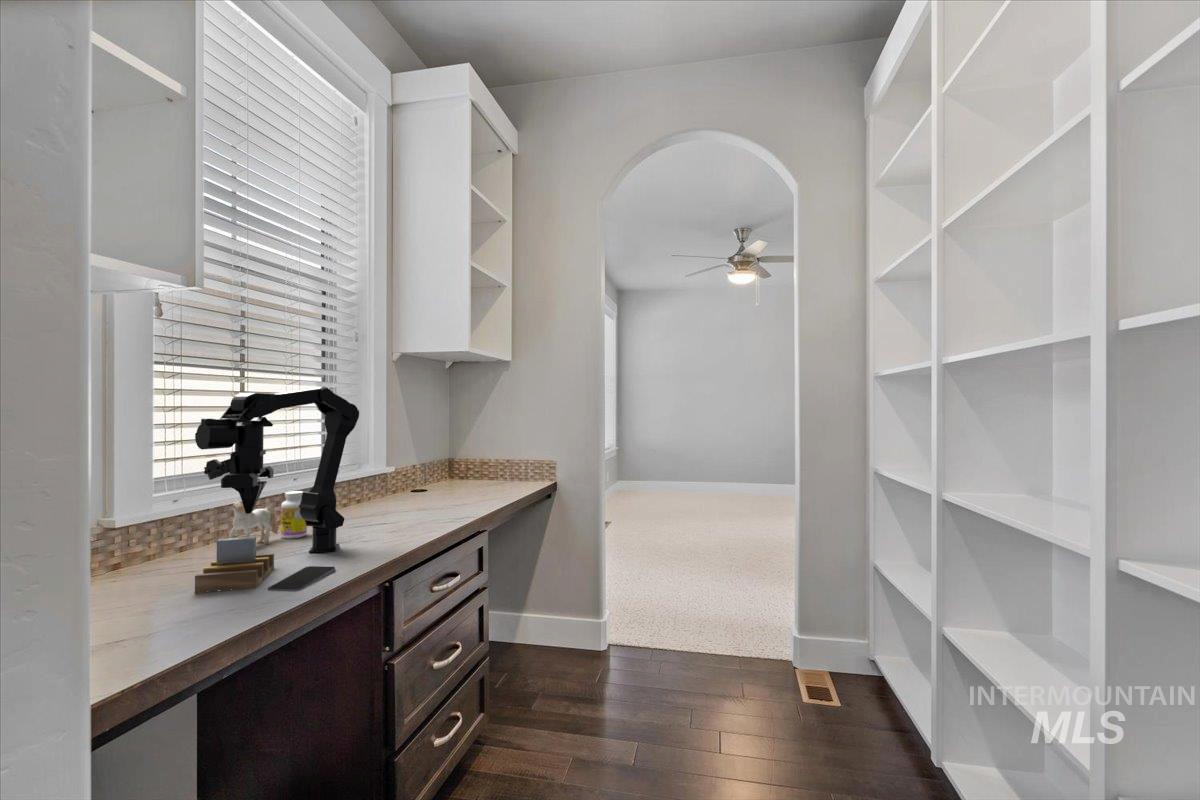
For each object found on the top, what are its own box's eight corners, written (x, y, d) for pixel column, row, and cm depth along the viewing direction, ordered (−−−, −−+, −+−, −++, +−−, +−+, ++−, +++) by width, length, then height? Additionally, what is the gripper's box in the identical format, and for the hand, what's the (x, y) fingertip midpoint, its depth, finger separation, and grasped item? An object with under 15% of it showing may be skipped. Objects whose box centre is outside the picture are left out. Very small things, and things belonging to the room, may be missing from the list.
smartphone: (264, 589, 118) (307, 566, 133) (264, 594, 118) (307, 570, 133) (298, 589, 117) (337, 566, 132) (298, 595, 117) (337, 571, 132)
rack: (220, 572, 130) (220, 555, 130) (273, 568, 134) (274, 551, 134) (194, 593, 116) (194, 574, 116) (255, 588, 119) (255, 569, 119)
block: (219, 575, 125) (219, 538, 125) (255, 572, 127) (256, 536, 127) (216, 577, 123) (216, 540, 123) (253, 575, 125) (253, 538, 125)
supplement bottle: (276, 536, 165) (276, 492, 165) (299, 532, 170) (299, 489, 170) (288, 540, 161) (288, 494, 161) (311, 535, 166) (311, 491, 166)
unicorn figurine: (214, 558, 142) (214, 504, 142) (253, 539, 161) (253, 492, 162) (245, 557, 143) (245, 504, 143) (280, 539, 162) (280, 492, 162)
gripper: (223, 444, 140) (222, 508, 140) (193, 450, 122) (193, 523, 122) (274, 443, 143) (273, 505, 143) (252, 449, 125) (252, 520, 125)
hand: (248, 513), depth 133 cm, fingers closed
